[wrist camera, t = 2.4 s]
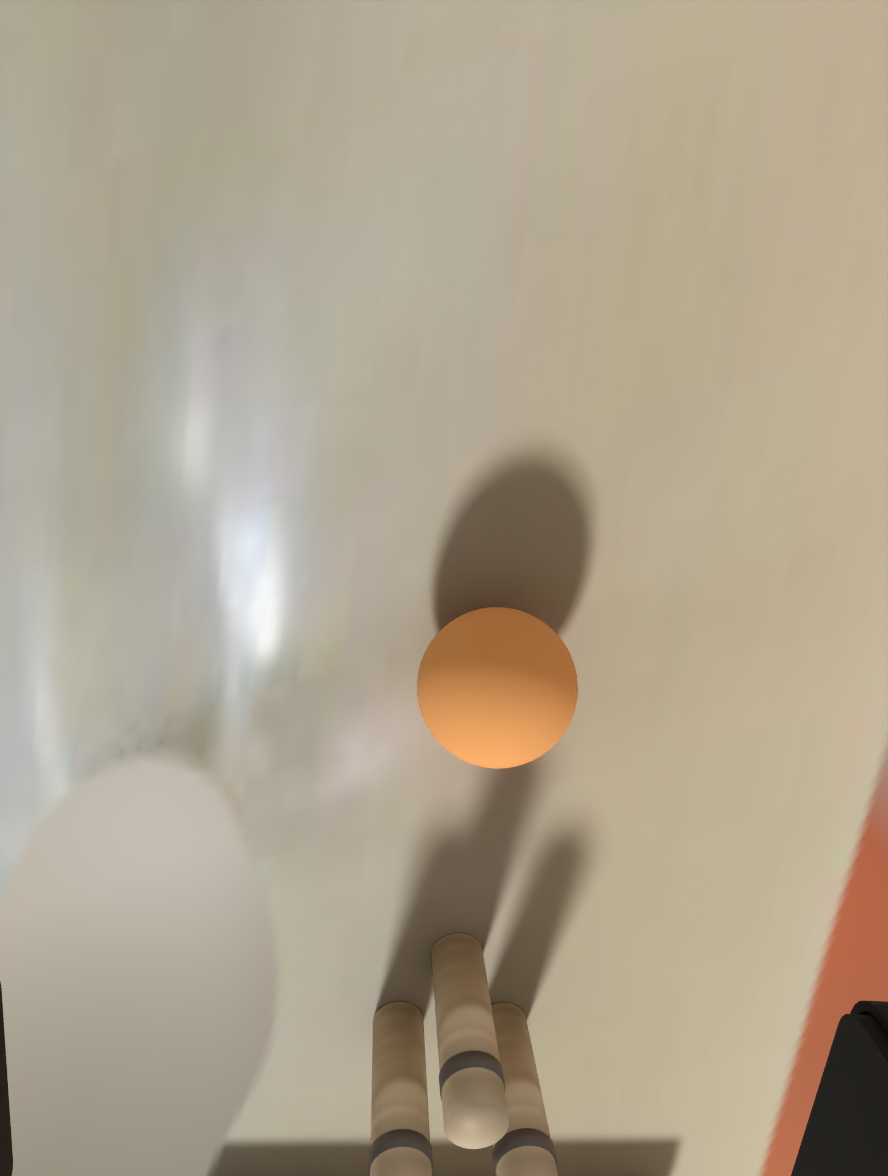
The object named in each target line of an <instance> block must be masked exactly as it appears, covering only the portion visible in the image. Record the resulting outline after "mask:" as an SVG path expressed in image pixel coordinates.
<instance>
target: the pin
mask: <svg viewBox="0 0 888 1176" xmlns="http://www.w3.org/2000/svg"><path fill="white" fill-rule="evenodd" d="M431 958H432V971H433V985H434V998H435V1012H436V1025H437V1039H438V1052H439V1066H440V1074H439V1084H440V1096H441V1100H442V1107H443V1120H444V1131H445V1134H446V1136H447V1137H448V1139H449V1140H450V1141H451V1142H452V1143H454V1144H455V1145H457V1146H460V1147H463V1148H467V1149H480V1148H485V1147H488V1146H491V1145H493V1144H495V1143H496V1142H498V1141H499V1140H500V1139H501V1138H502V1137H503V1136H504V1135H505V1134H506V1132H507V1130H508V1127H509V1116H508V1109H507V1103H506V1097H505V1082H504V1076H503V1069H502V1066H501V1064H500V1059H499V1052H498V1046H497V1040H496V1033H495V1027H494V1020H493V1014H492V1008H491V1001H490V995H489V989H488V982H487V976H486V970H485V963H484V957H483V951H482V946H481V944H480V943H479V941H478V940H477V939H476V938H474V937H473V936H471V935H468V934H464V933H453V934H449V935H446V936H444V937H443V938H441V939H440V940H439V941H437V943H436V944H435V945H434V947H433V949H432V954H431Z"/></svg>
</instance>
